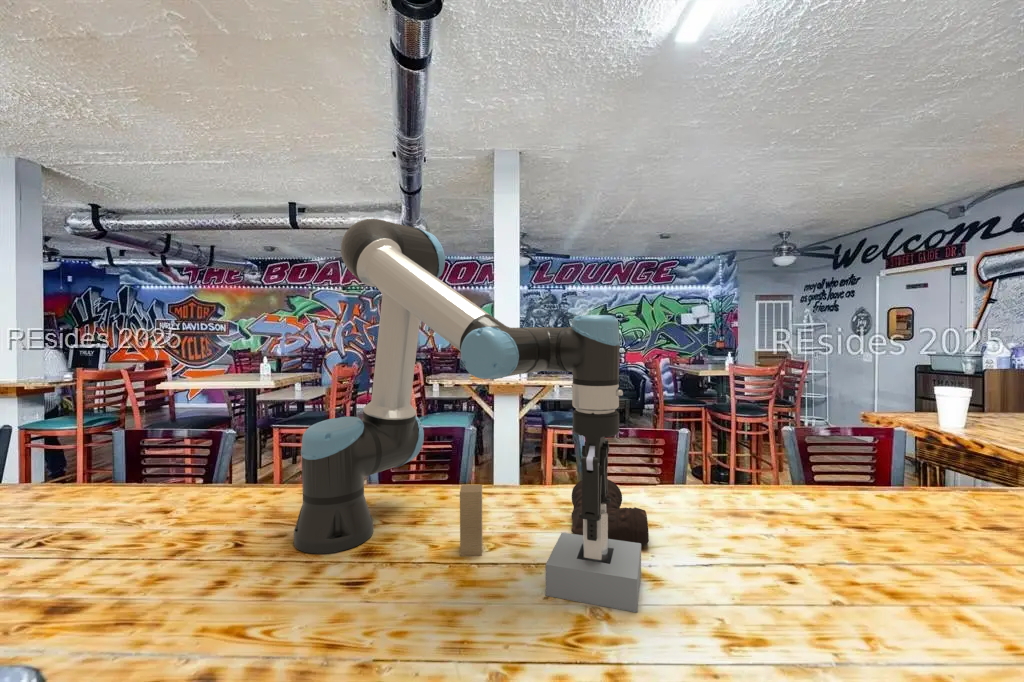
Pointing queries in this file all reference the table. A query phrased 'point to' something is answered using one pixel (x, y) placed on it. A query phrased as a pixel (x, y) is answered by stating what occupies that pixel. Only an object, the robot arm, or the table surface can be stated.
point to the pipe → (614, 516)
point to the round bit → (604, 539)
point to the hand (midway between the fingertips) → (595, 548)
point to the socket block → (595, 574)
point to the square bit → (471, 520)
